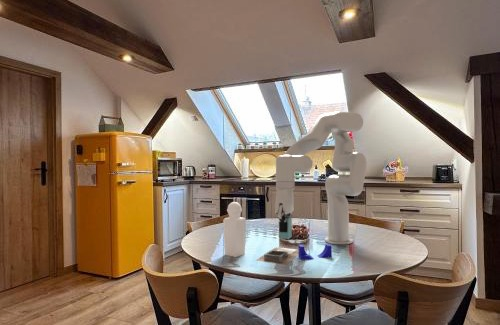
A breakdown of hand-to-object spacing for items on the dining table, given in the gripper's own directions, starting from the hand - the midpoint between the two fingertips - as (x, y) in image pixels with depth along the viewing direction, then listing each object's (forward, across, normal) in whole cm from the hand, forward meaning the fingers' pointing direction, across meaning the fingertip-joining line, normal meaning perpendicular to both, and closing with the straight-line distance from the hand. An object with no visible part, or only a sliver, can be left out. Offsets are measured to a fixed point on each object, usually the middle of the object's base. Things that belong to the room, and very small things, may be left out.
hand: (285, 230), depth 129 cm
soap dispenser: (+10, +12, -17) cm, 23 cm away
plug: (+3, 0, 0) cm, 3 cm away
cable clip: (+10, +3, +13) cm, 17 cm away
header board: (+10, +6, 0) cm, 11 cm away
